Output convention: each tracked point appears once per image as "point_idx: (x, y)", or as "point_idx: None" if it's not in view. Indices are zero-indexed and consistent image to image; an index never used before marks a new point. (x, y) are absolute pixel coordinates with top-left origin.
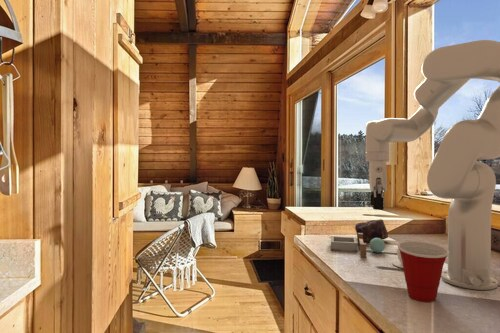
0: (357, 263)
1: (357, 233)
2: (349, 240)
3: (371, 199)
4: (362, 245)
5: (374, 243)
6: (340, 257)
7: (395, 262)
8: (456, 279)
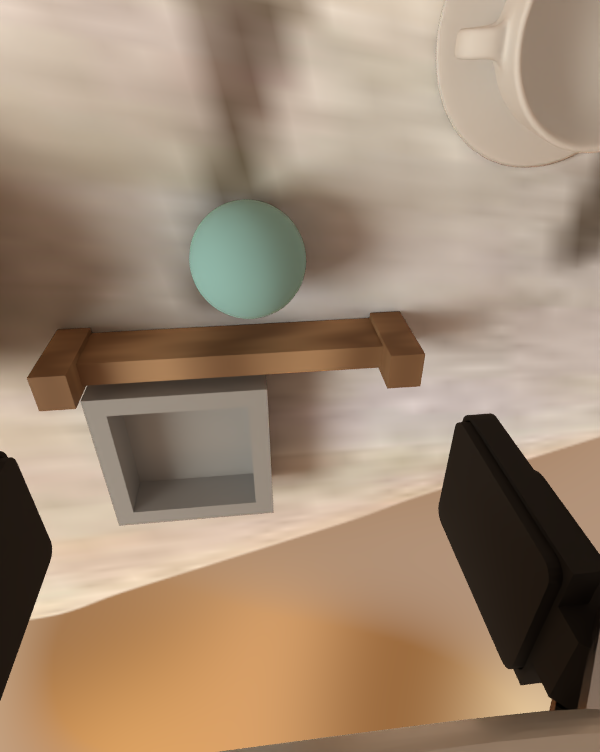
0: (506, 353)
1: None
2: (117, 425)
3: (21, 633)
4: (418, 371)
5: (296, 291)
6: (402, 428)
7: (511, 141)
8: None
